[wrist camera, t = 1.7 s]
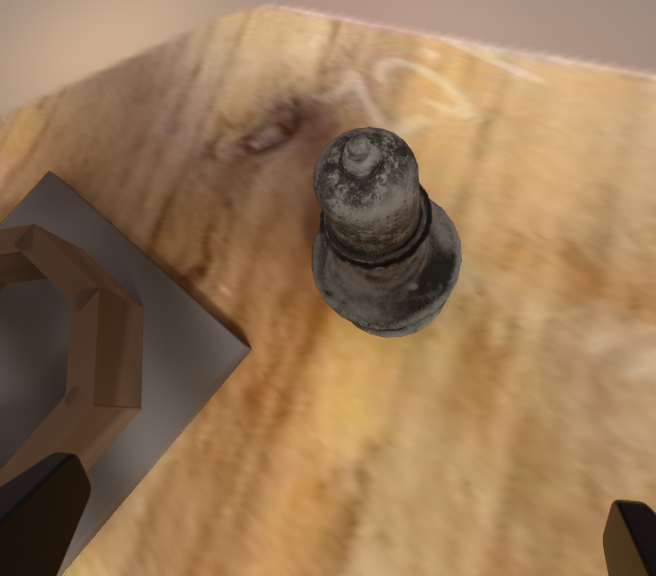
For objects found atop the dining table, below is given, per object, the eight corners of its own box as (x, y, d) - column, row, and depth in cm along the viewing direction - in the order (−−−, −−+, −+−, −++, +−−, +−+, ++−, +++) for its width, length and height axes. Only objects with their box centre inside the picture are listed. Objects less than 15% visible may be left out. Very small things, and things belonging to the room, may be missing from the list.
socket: (28, 614, 23) (-66, 656, 18) (-133, 391, 27) (-238, 383, 23) (251, 349, 24) (213, 331, 20) (61, 179, 28) (-3, 135, 24)
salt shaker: (320, 233, 25) (228, 66, 13) (442, 209, 24) (456, 10, 13) (336, 353, 23) (248, 279, 12) (469, 332, 22) (512, 229, 11)
